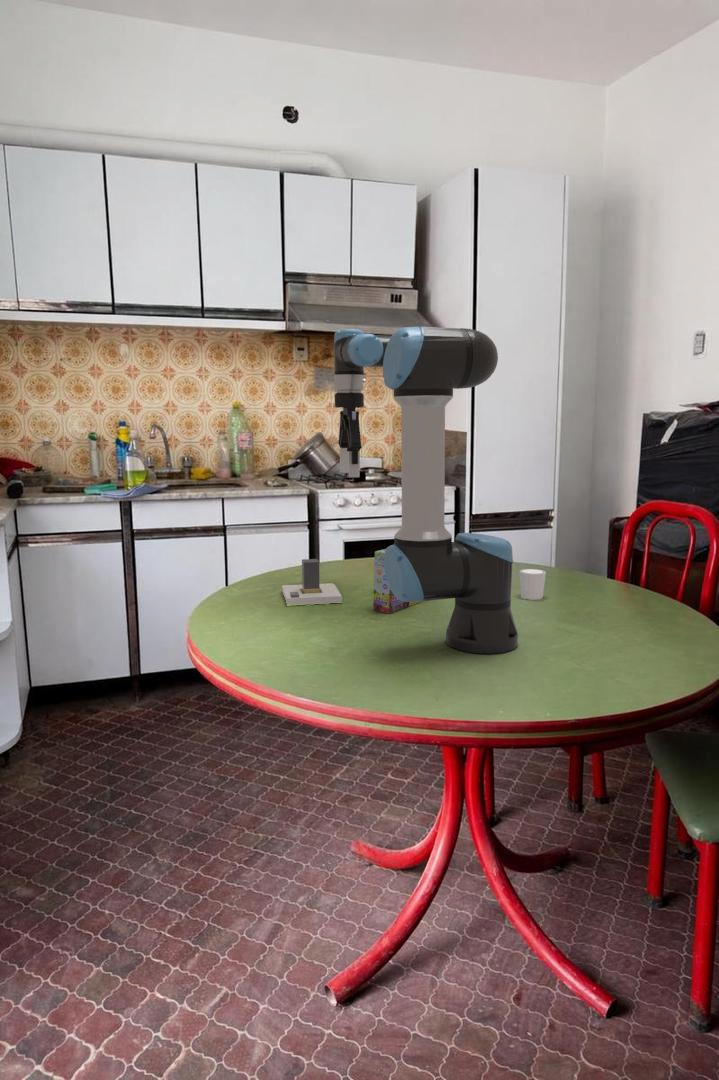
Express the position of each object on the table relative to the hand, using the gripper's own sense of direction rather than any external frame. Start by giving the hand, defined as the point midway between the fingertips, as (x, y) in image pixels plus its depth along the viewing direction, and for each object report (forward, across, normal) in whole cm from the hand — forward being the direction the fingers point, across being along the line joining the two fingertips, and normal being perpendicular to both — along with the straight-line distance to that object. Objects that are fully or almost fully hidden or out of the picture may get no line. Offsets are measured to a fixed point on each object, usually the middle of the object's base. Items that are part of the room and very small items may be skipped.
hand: (349, 474), depth 198 cm
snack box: (+32, -14, -12) cm, 37 cm away
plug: (+32, -4, +11) cm, 34 cm away
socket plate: (+32, -4, +11) cm, 34 cm away
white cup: (+32, -14, -46) cm, 58 cm away
